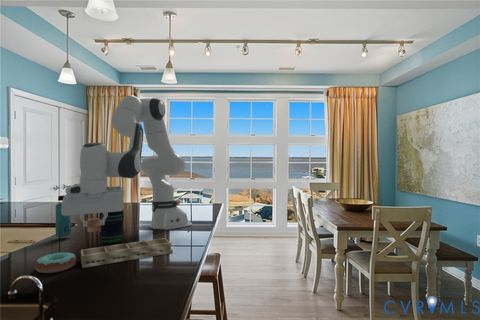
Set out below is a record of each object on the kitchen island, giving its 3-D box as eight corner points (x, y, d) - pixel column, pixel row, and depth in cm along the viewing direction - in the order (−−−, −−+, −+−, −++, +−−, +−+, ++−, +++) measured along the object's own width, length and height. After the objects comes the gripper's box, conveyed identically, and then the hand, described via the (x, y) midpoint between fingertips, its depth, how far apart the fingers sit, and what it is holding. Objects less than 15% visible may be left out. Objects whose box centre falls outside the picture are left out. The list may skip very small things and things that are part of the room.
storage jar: (129, 242, 130) (128, 208, 130) (112, 248, 121) (112, 211, 121) (111, 240, 133) (110, 207, 134) (93, 246, 124) (93, 210, 124)
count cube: (99, 228, 108) (99, 217, 108) (100, 230, 105) (100, 219, 105) (87, 230, 106) (87, 218, 106) (88, 232, 103) (88, 220, 103)
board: (164, 246, 123) (164, 238, 123) (172, 252, 114) (172, 243, 114) (80, 259, 107) (80, 249, 107) (82, 268, 98) (82, 257, 98)
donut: (71, 272, 95) (71, 260, 95) (28, 277, 91) (28, 264, 92) (80, 260, 106) (80, 249, 106) (42, 264, 103) (42, 252, 103)
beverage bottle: (64, 240, 133) (63, 196, 133) (51, 240, 134) (51, 196, 134) (74, 237, 139) (74, 194, 139) (62, 236, 141) (62, 194, 141)
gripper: (123, 185, 114) (123, 221, 114) (61, 188, 103) (61, 227, 103) (125, 186, 108) (125, 224, 108) (61, 189, 98) (61, 230, 98)
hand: (93, 225), depth 106 cm, fingers closed on count cube, 4 cm apart
